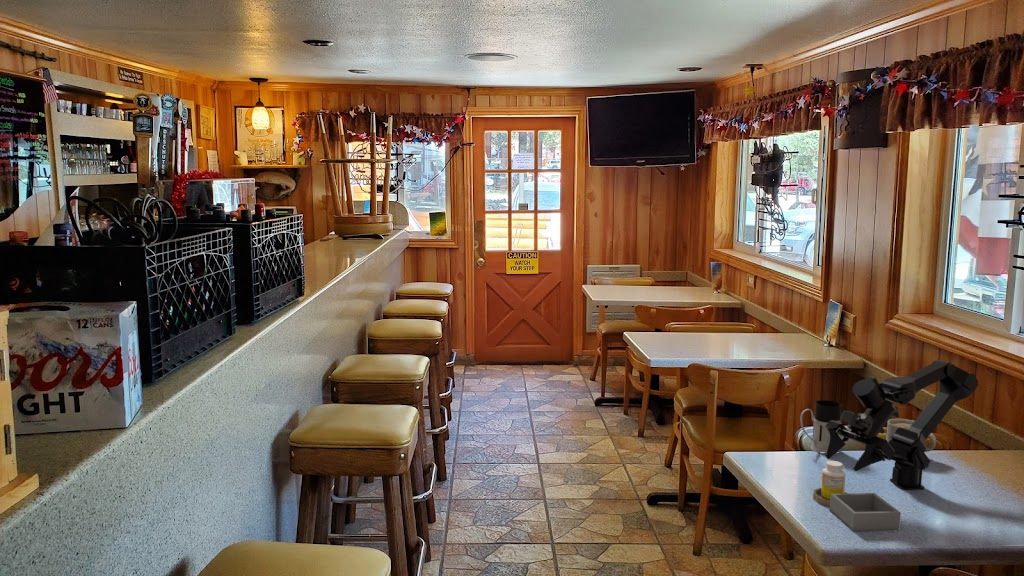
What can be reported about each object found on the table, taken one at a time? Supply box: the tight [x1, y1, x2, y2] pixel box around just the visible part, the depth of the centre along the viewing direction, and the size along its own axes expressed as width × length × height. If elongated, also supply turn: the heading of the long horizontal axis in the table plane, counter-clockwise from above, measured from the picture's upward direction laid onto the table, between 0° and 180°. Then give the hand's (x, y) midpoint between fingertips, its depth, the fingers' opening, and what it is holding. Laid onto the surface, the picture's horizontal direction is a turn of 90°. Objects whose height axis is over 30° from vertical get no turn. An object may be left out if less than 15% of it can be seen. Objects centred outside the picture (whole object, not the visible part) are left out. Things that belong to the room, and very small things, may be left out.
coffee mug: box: [885, 418, 937, 453], centre depth 232 cm, size 13×10×10 cm
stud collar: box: [812, 487, 848, 508], centre depth 199 cm, size 9×9×2 cm
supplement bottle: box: [820, 460, 846, 500], centre depth 199 cm, size 6×6×10 cm
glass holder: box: [799, 399, 843, 453], centre depth 236 cm, size 9×14×15 cm, turn 107°
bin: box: [829, 492, 902, 532], centre depth 187 cm, size 12×12×4 cm
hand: (840, 463), depth 199 cm, fingers open, 9 cm apart
